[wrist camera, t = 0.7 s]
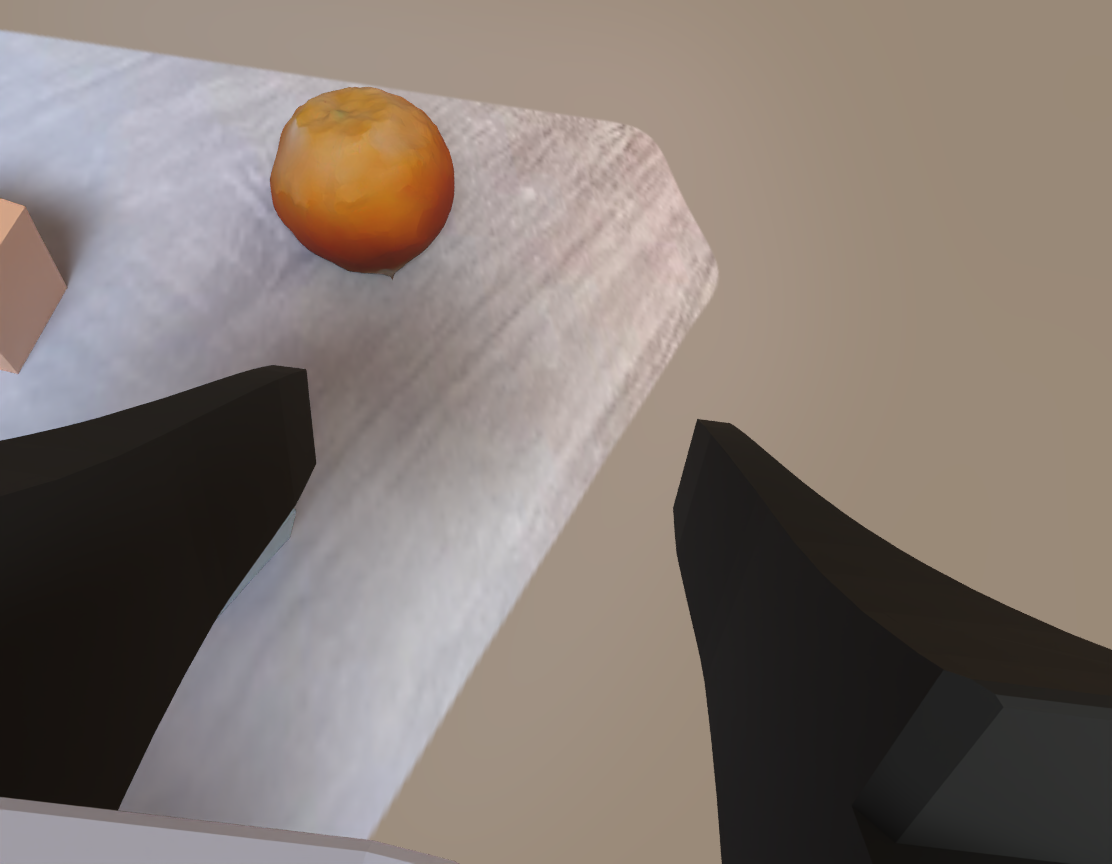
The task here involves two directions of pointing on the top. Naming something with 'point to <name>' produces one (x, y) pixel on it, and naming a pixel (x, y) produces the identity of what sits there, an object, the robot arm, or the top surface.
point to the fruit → (363, 179)
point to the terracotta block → (24, 286)
